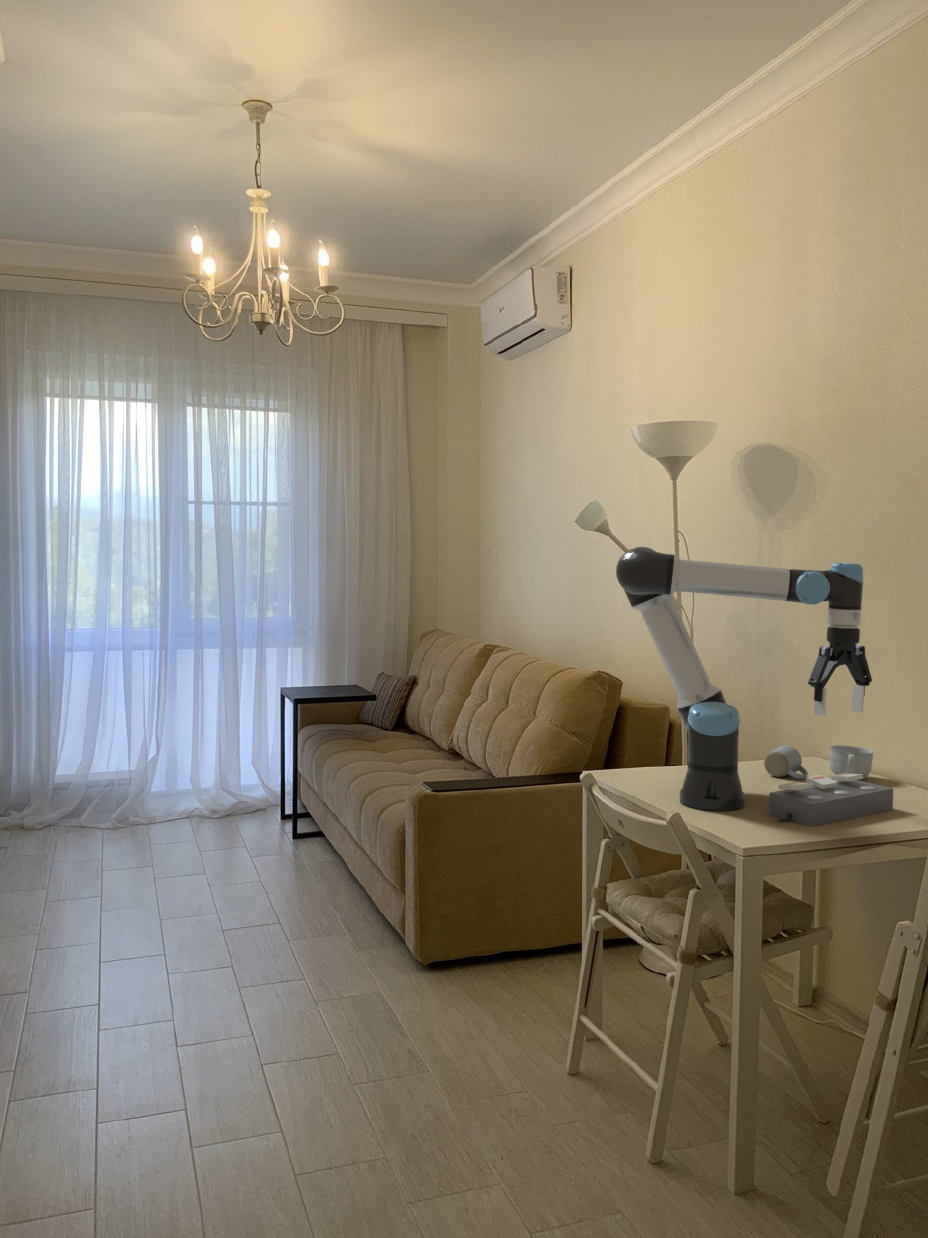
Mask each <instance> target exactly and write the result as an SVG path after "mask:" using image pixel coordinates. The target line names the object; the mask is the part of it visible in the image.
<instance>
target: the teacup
mask: <svg viewBox="0 0 928 1238" xmlns="http://www.w3.org/2000/svg"><path fill="white" fill-rule="evenodd" d="M829 750H830V751H829V768H830V771H831V772H832V773H833V774H834V775H839V774H844V773H848V774H862V775H863V779H858V780H859V781H862V780H864V779H865V778H866V777H868V776H869V775H870V773H871V772H872V766H873V759H874V757H873V756H874V750H871V749H868V748H865V747H859V746H854V745H843V744H842V745H839V744H838V745H831V746H830V747H829Z"/></svg>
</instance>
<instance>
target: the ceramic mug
mask: <svg viewBox="0 0 928 1238" xmlns="http://www.w3.org/2000/svg"><path fill="white" fill-rule="evenodd" d="M802 763H803V760H802V755H801V754H800V752H799V750H797V749H796V748H795V747H793V746H791V745H787V744H785V745H781V746H779V747H777V748H776V749H773V750H771V751H769V753H767V754H766V756H765V757H764V761H763V765H764V768H765V770H766V772H767V773H768V774H769V775H770V776H773V777H775V778H783V777H786V776H790V777H792V778H794V779H796V780H806V777H808V776H809V775H808V774H809V773H808V771H807V769H806V768H805V767H804V766H802ZM798 771H799V772H800V773H801V774H800V773H798Z"/></svg>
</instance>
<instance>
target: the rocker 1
mask: <svg viewBox="0 0 928 1238" xmlns="http://www.w3.org/2000/svg"><path fill="white" fill-rule="evenodd" d="M811 785H812V784H811V783H809V782H796V781H795V782H788V783H787V782H786V783H781V784H778V789H779V790H787V791H791V790H799V789H805V788H811Z"/></svg>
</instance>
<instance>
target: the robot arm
mask: <svg viewBox="0 0 928 1238" xmlns="http://www.w3.org/2000/svg"><path fill="white" fill-rule="evenodd" d="M615 569H616V570H615V574H616V575H615V576H616V580H617V581H618V584H619V585H620V586H621V588H622V589H623V591H624V593H625V595H626V598H627V600H628V601H629V604H630V606H631V608H632V609H634V610H636V611H638V612H640V613H641V616H642V619H644V622H645V625H646V627H647V629H648V631H649V634H650V636H651V638H652V640H653V642H654V645H655V647H656V649H657V651H658V653H659V656H660V658H661V661H662V662H663V665H664V666H665V669H666V671H667V673H668V676H669V679H670V681H671V683H672V685H673V687H674V689H675V691H676V693H677V695H678V701H677V705H676V708H677V710H678V713H679V714H680V717H681V720H682V722H683V724H684V726H685V729H686V731H687V738H688V741H687V747H688V748H687V771H686V774H685V778H684V780H683V783H682V787H681V788H680V791H679V802H680V803H681V804H682V805H683V806H686V807H688V808H694V809H697V810H699V809H700V810H705V811H732V810H733V811H734V810H739V809H741V808H743V807H744V806H745V803H746V800H745V799H746V797H745V792H744V791H743V787H742V783H741V779H740V775H739V770H738V769H739V736H740V735H739V732H740V730H739V729H740V727H739V726H740V725H741V724H740V723H741V720H740V713H739V710H738V708H736V707H735V706H734V705H732V704H729V703H727V701H726V699H725V697H724V694H723V692H722V690H721V688H720V687H718V686H715V685H713V684H712V683H711V681H710V678H709V677H708V674H707V671H706V669H705V667H704V665H703V662H702V660H701V659H700V656H699V654H698V652H697V649H696V648H695V645H694V642H693V640H692V639H691V637H690V634H689V632H688V629H687V627H686V626H685V623H684V621H683V619H682V617H681V616H682V615H681V614H680V612H679V610H678V608H677V606H676V603H675V601H674V598H673V597H674V596H673V595H674V594H675V593H676V592H684V593H693V594H695V593H696V594H703V595H705V594H706V595H713V596H714V595H715V596H716V595H717V596H727V597H738V598H746V599H747V598H748V599H761V600H770V601H771V600H772V601H780V602H781V601H782V602H790V603H801V604H802V603H803V604H806V605H817V604H819V603H822V602H828V609H827V625H829V626H828V627H827V628H826V641H827V642H829V646H820V647H819V650H818V656H817V658H816V661H815V663H814V666H813V669H812V670H811V674H810V676H809V679H808V680H807V683H808V684H807V685H809V686H810V687H811V688H814V690H813V691H814V692H813V693H814V694H813V700H814V701H813V702H814V711H813V715H818V716H826V712H827V711H826V709H827V708H826V707H827V696H828V695H827V694H828V689H827V688H826V685H827V683H828V682H829V680H830V679H831V676H833V673H834V672H835V671H836V669H837V668H839V667H840V666H844V665H845V666H846V667H847V669H848V671H849V673H850V675H851V677H852V679H853V680H854V682H855V684H853V685H852V697H851V698H852V701H851V711H852V712H856V713H863V712H864V699H865V694H866V686H867V687H869V686H870V683H872V681H873V678H872V675H871V671H870V667H869V664H868V660H867V657H866V646H864V645H857V644H859V643H860V640H861V639H860V638H861V637H860V636H861V629H860V628H859V627H860V626H861V618H862V617H861V616H862V602H863V601H862V600H863V589H864V568H863V566H862V564H860V563H852V562H851V563H849V562H847V563H846V562H832V563H831V565H830V567H829V570H815V569H814V570H812V569H795V568H791V569H789V568H781V567H770V566H769V567H768V566H757V565H746V564H735V563H723V562H722V563H721V562H714V561H713V562H711V561H700V560H690V559H689V560H688V559H680V558H679V557H678V555H677V554H671V553H664V552H658V551H656V550H654V549H652V548H650V547H645V546H637V547H634V548H630V549H629V550H627V551H625V552H624V553H623V554H622V555H621V557H620V558H619V559H618V561H617V563H616V568H615Z"/></svg>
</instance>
